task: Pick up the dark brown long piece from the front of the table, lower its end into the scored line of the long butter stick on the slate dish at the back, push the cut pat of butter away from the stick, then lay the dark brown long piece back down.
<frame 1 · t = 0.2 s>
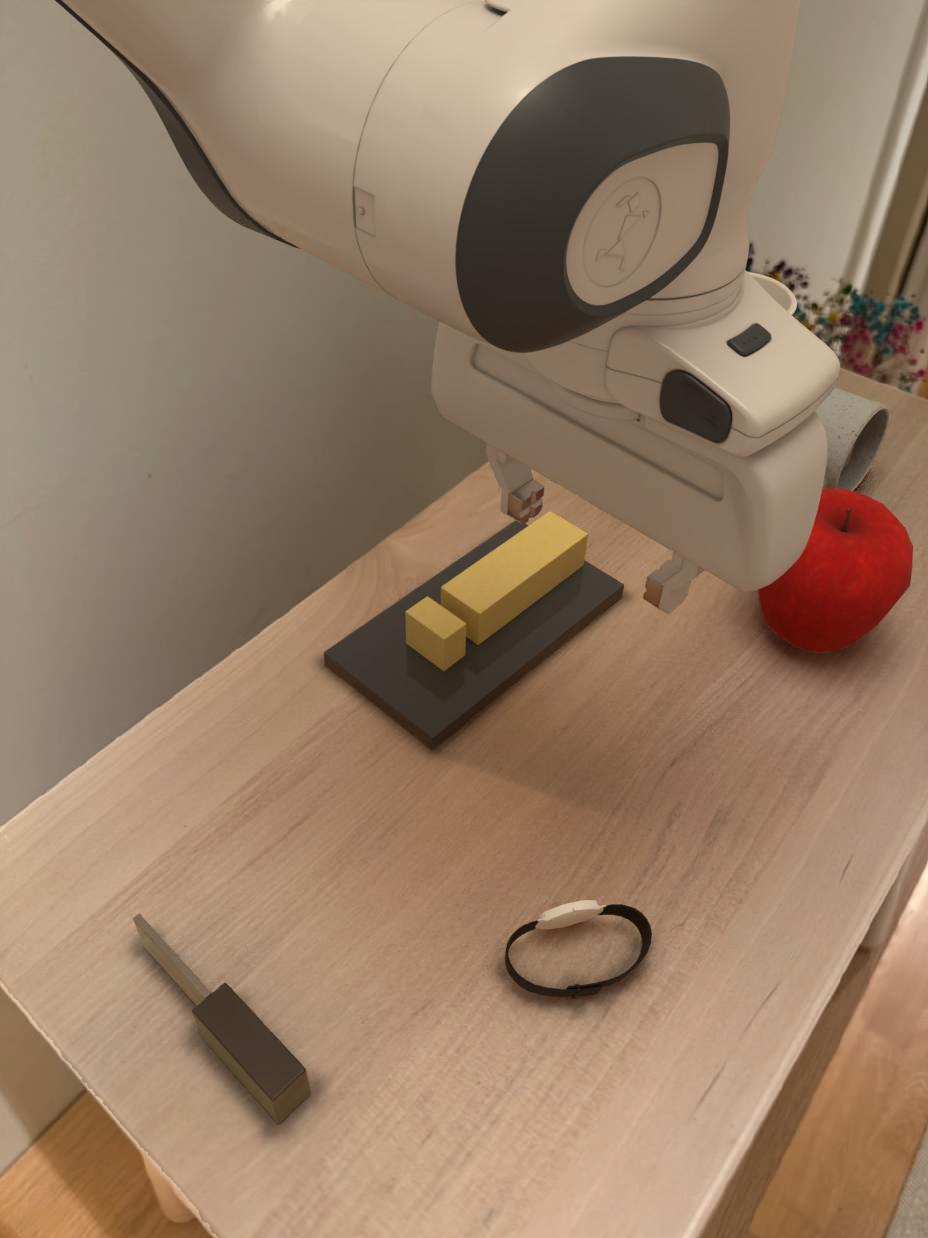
hand: (589, 555, 55), 15 cm above the table, tool pointing down, fingers open, 8 cm apart
dixie cup: (719, 402, 92), on the table
watch: (574, 962, 56), on the table
butter pat: (435, 649, 69), point 1 cm above the table, touching butter dish
ceramic mug: (799, 483, 85), on the table
butter dish: (478, 629, 72), on the table
apple: (806, 631, 73), on the table
dark brown long piece: (217, 1022, 53), on the table
ornament: (651, 488, 84), on the table
butter block: (514, 591, 73), point 1 cm above the table, touching butter dish
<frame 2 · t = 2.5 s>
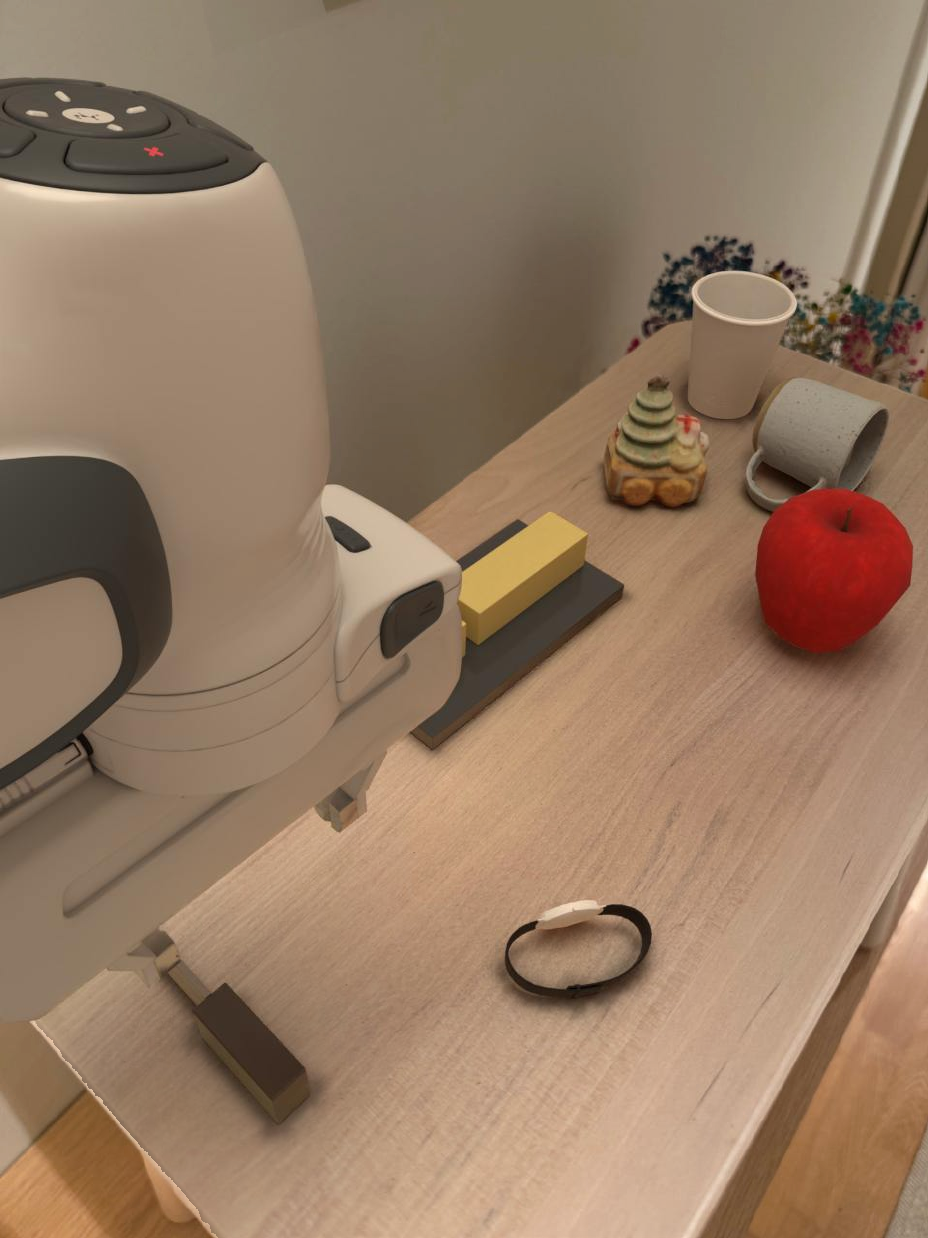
hand: (252, 884, 43), 14 cm above the table, tool pointing down, fingers open, 8 cm apart
nothing on the table moved.
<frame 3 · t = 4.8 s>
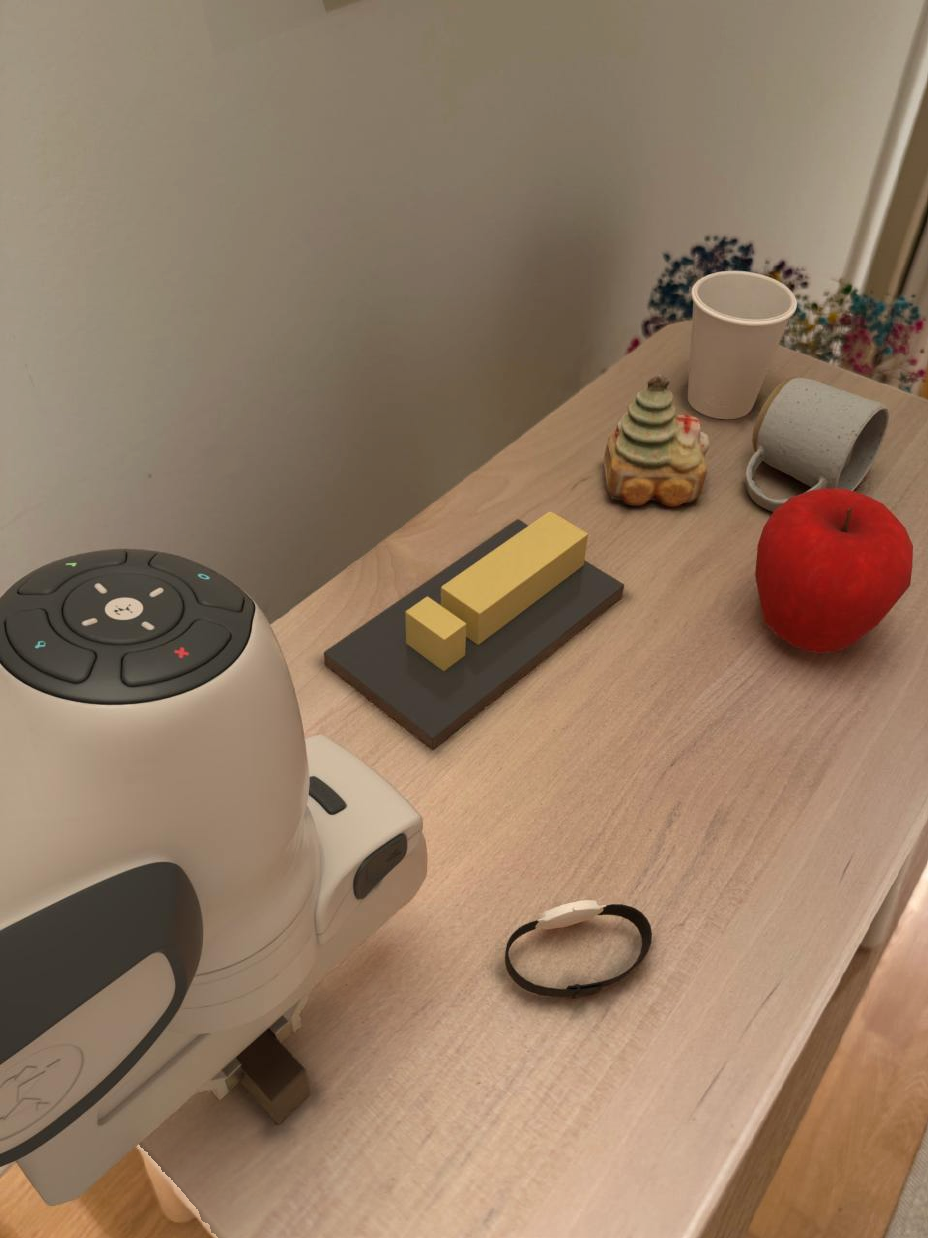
hand: (251, 1051, 50), 2 cm above the table, tool pointing down, fingers closed on dark brown long piece, 2 cm apart
dark brown long piece: (216, 1022, 53), on the table, touching gripper
everything else where it was.
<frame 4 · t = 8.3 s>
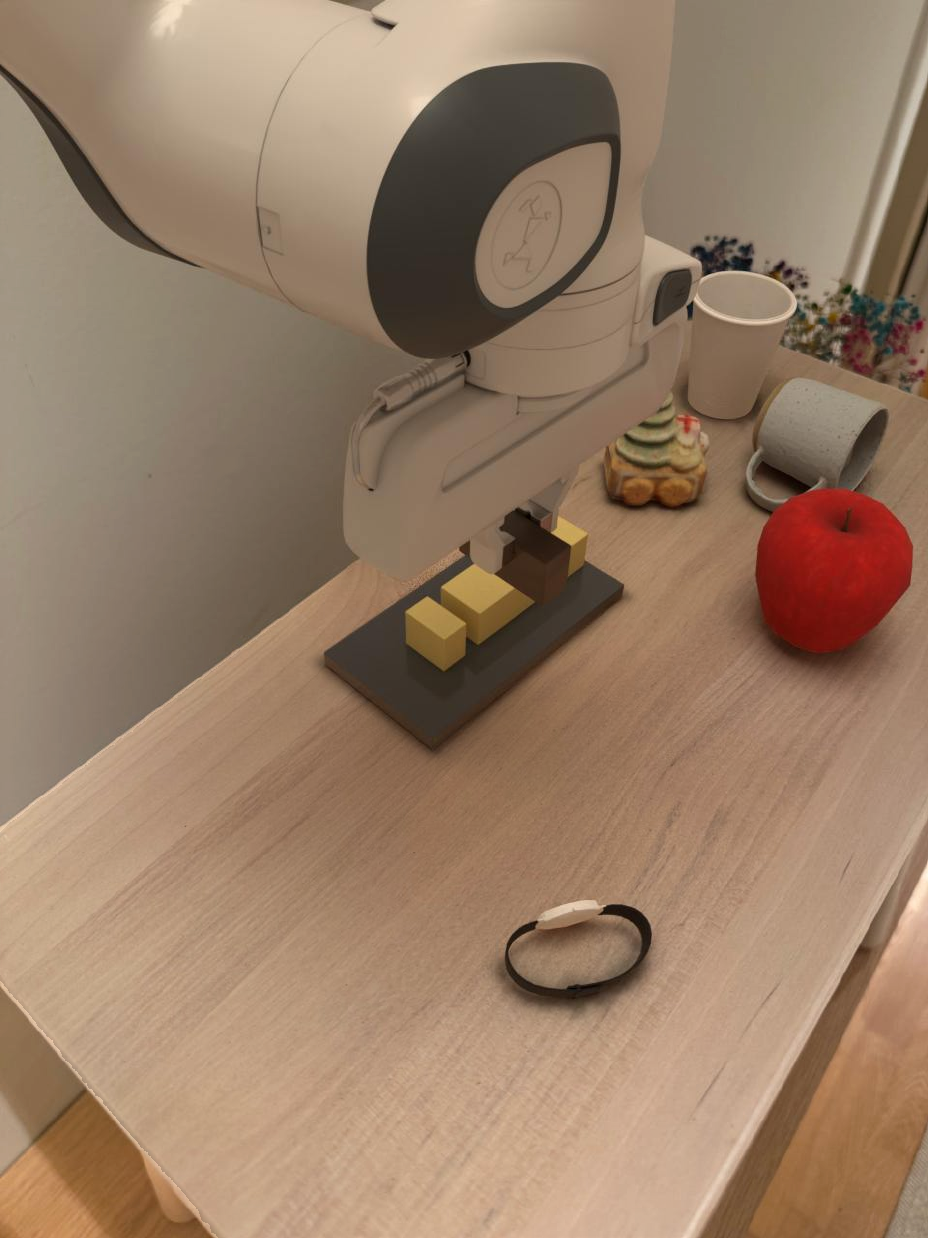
hand: (513, 546, 55), 15 cm above the table, tool pointing down, fingers closed on dark brown long piece
dark brown long piece: (471, 542, 58), point 14 cm above the table, touching gripper
everything else where it was.
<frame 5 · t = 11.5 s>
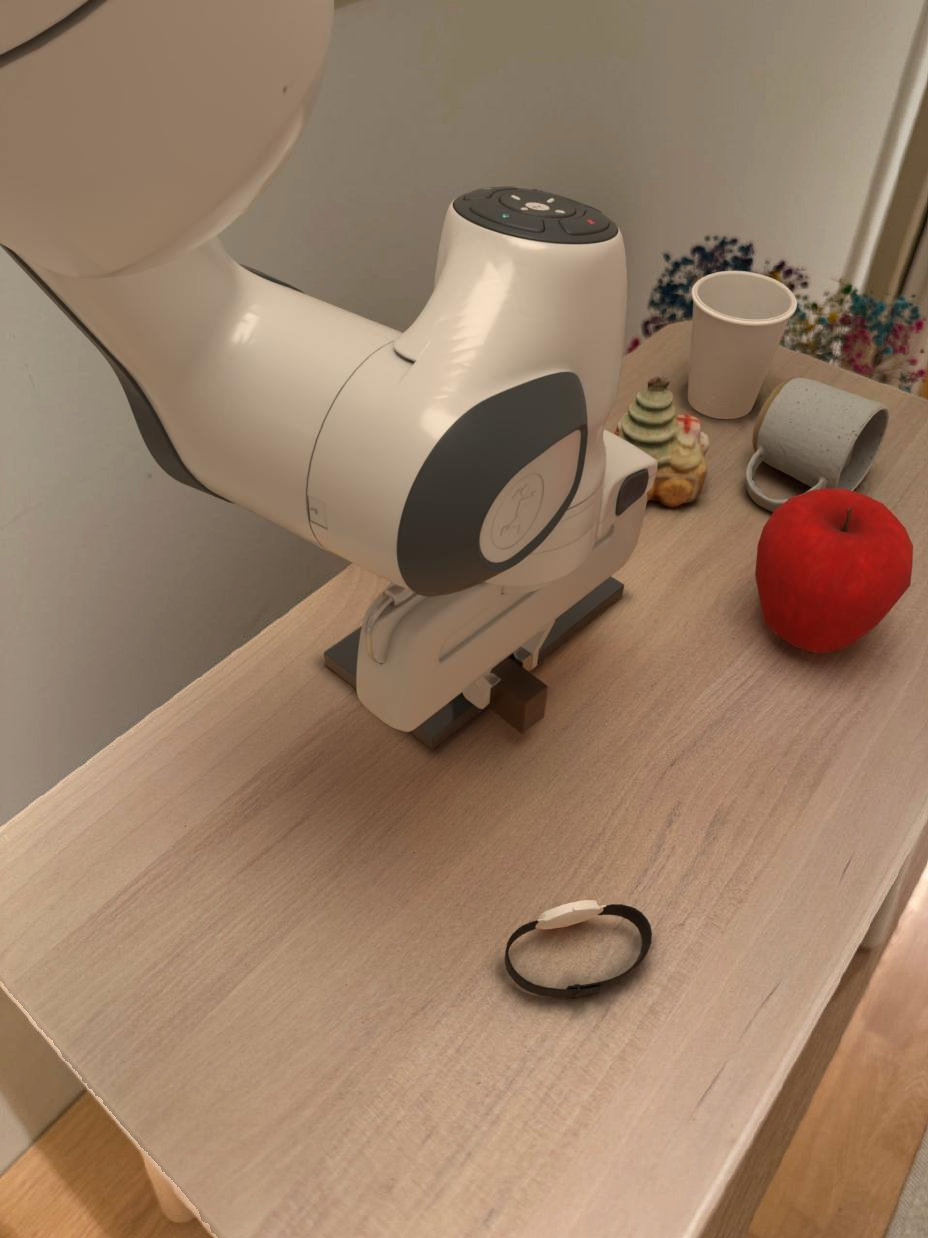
hand: (500, 682, 65), 3 cm above the table, tool pointing down, fingers closed on dark brown long piece, 2 cm apart
butter pat: (417, 661, 68), point 1 cm above the table, touching butter dish
dark brown long piece: (463, 672, 67), point 2 cm above the table, touching gripper
everything else where it was.
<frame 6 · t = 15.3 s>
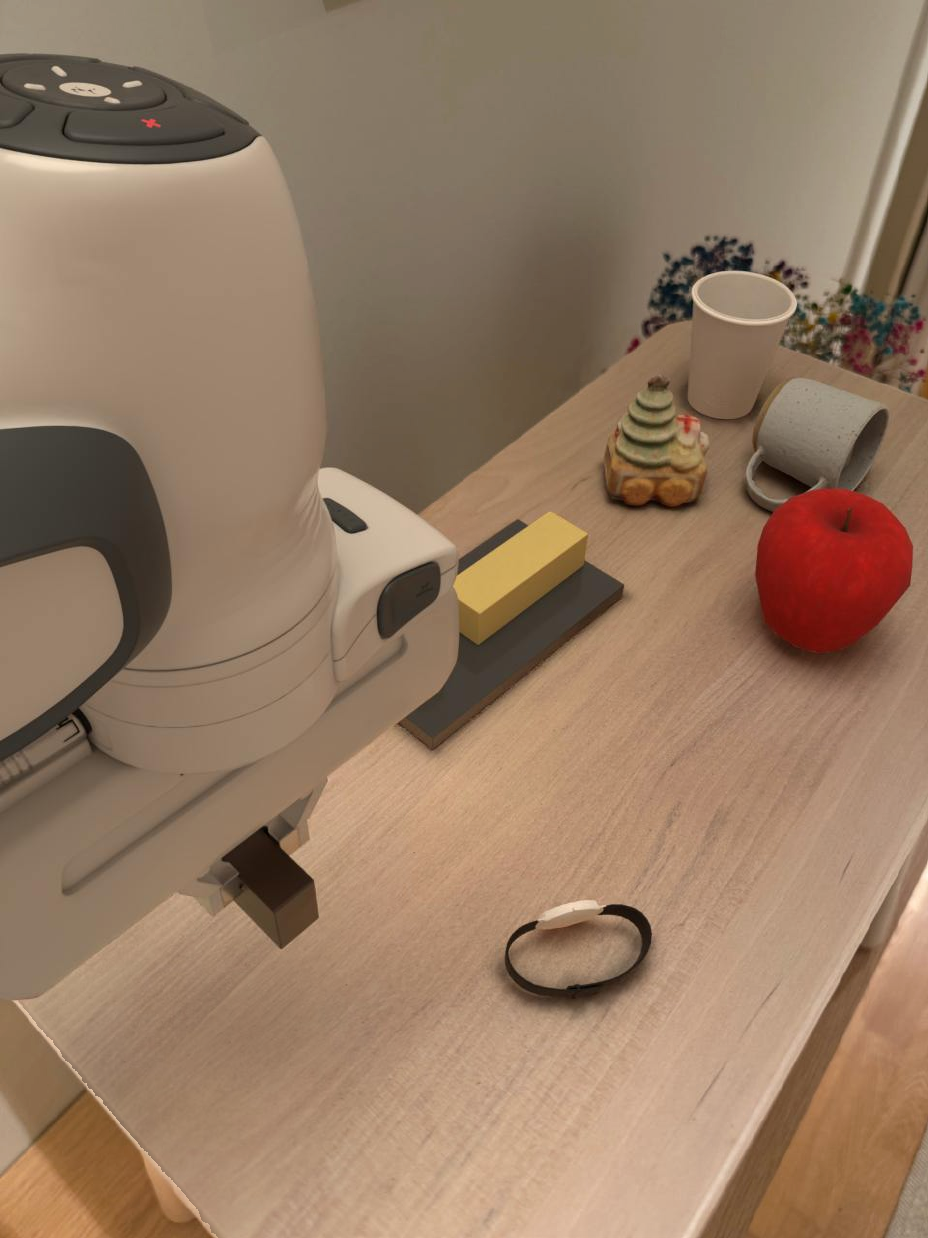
hand: (251, 867, 43), 14 cm above the table, tool pointing down, fingers closed on dark brown long piece
dark brown long piece: (209, 842, 45), point 13 cm above the table, touching gripper
everything else where it was.
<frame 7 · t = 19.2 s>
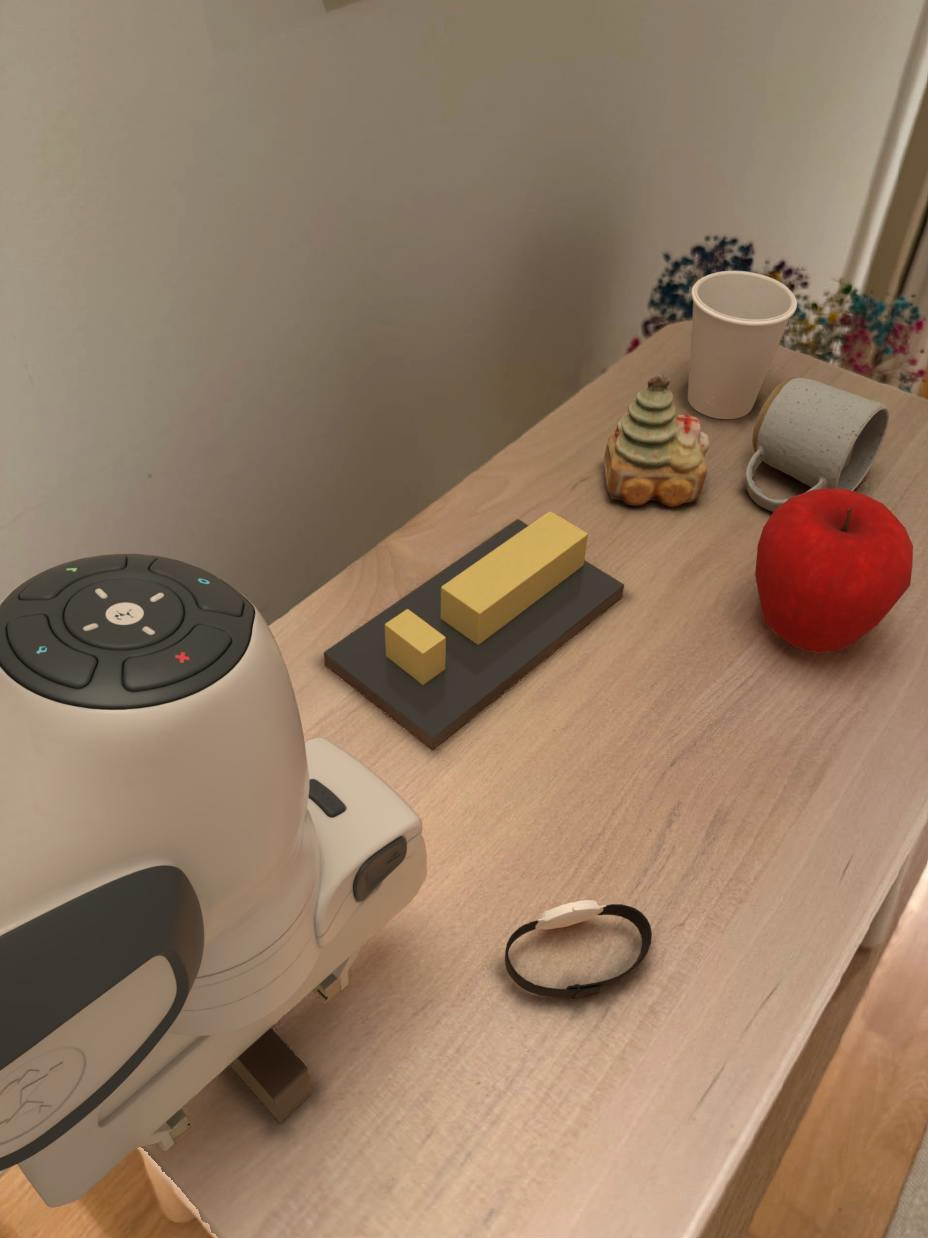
hand: (251, 1053, 50), 1 cm above the table, tool pointing down, fingers open, 8 cm apart
dark brown long piece: (219, 1020, 53), on the table
everything else where it was.
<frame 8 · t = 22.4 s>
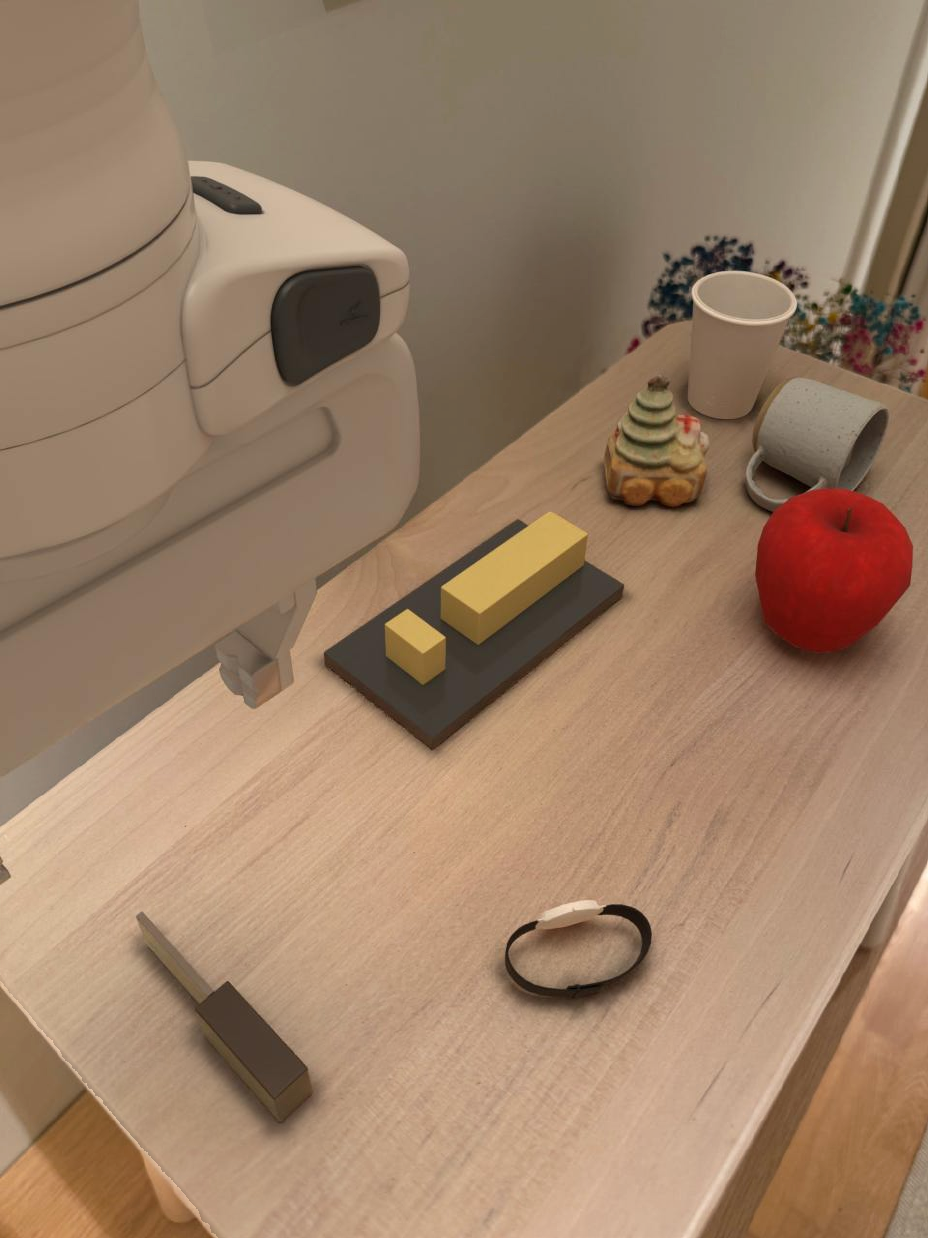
hand: (127, 775, 30), 27 cm above the table, tool pointing down, fingers open, 8 cm apart
nothing on the table moved.
at the end: butter pat 1.0 cm from the target spot on the butter dish, point 1.2 cm above the butter dish's base; butter block moved 0.0 cm from its start; the gripper is holding nothing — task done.
